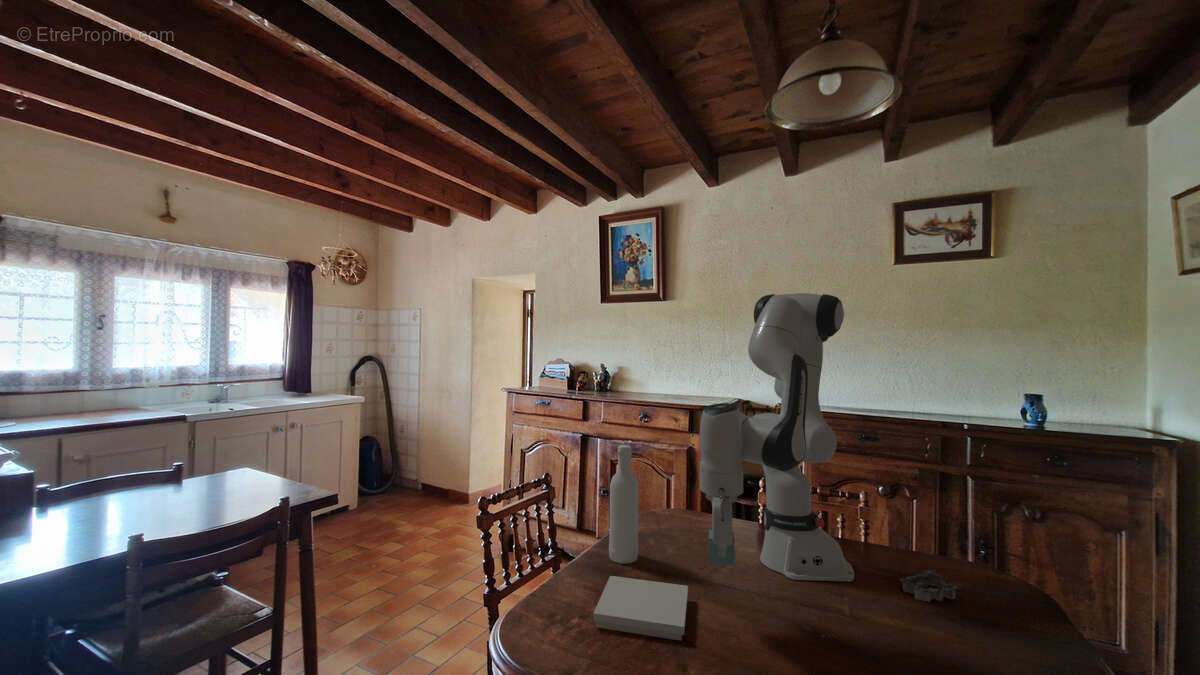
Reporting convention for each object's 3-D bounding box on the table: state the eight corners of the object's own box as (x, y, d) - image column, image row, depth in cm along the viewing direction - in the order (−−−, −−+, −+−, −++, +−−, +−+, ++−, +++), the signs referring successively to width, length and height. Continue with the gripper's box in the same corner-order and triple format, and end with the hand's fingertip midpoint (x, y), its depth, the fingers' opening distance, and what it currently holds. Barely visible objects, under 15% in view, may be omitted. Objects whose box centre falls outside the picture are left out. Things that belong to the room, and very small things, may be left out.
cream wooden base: (688, 599, 104) (688, 585, 104) (684, 642, 88) (684, 626, 88) (610, 588, 108) (610, 575, 108) (593, 628, 93) (593, 613, 93)
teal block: (733, 555, 98) (733, 531, 98) (734, 566, 93) (734, 541, 93) (709, 552, 99) (709, 529, 99) (709, 563, 94) (709, 538, 94)
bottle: (644, 557, 125) (645, 446, 126) (626, 567, 119) (627, 450, 120) (621, 548, 130) (622, 441, 131) (602, 557, 124) (604, 445, 125)
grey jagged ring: (935, 586, 112) (935, 568, 112) (963, 602, 105) (963, 584, 105) (895, 587, 111) (895, 570, 111) (921, 604, 103) (921, 586, 103)
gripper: (739, 499, 86) (740, 574, 85) (734, 470, 105) (735, 531, 105) (705, 496, 87) (705, 570, 87) (706, 468, 107) (706, 528, 107)
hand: (721, 548), depth 96 cm, fingers closed on teal block, 5 cm apart
